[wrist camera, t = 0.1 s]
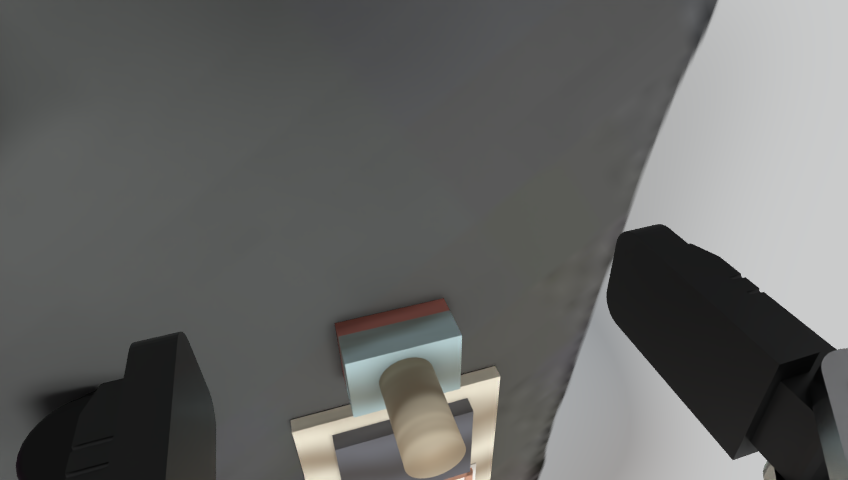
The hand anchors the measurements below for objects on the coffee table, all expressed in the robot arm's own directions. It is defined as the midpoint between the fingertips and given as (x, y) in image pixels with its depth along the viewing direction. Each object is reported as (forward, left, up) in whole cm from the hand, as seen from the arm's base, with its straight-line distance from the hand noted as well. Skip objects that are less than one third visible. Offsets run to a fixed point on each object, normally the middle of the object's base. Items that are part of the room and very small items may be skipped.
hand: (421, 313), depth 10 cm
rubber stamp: (+20, +3, -17) cm, 26 cm away
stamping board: (+36, +3, -17) cm, 40 cm away
